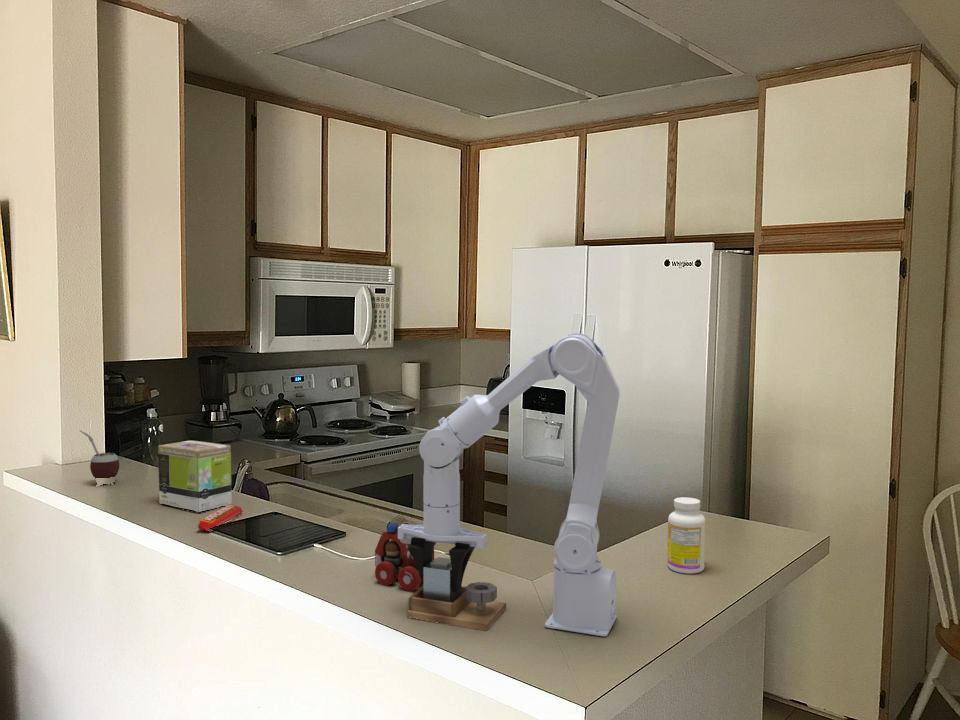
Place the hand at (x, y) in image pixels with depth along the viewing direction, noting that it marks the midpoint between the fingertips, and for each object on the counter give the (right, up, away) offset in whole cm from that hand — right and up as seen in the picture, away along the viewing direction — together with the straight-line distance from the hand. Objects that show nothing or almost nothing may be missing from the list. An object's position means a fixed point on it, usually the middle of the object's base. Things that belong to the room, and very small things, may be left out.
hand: (441, 587), depth 123 cm
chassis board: (+3, -4, -1) cm, 5 cm away
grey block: (0, -2, 0) cm, 2 cm away
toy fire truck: (-7, -3, +13) cm, 15 cm away
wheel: (+6, -1, -2) cm, 7 cm away
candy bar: (-51, -1, +49) cm, 71 cm away
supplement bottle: (+44, -3, +20) cm, 49 cm away
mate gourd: (-94, +3, +84) cm, 127 cm away
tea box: (-62, +1, +64) cm, 89 cm away
